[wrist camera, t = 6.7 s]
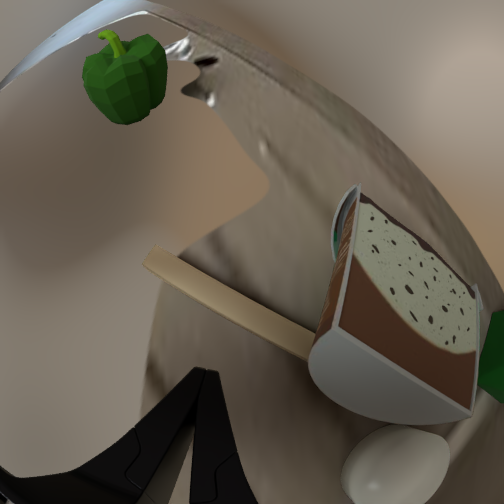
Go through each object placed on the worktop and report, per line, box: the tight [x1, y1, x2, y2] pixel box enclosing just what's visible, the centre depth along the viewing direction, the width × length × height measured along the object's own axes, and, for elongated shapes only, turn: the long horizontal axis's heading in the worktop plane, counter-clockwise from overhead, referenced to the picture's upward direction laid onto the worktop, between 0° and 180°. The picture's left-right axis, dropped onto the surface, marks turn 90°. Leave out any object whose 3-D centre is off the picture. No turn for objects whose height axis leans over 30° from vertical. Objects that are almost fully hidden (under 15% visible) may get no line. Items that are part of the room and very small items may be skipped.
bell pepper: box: [82, 30, 168, 125], centre depth 20 cm, size 8×8×10 cm
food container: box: [308, 182, 483, 425], centre depth 13 cm, size 12×6×10 cm
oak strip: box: [142, 245, 315, 362], centre depth 17 cm, size 2×16×2 cm, turn 61°
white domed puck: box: [341, 424, 450, 504], centre depth 12 cm, size 7×7×4 cm
